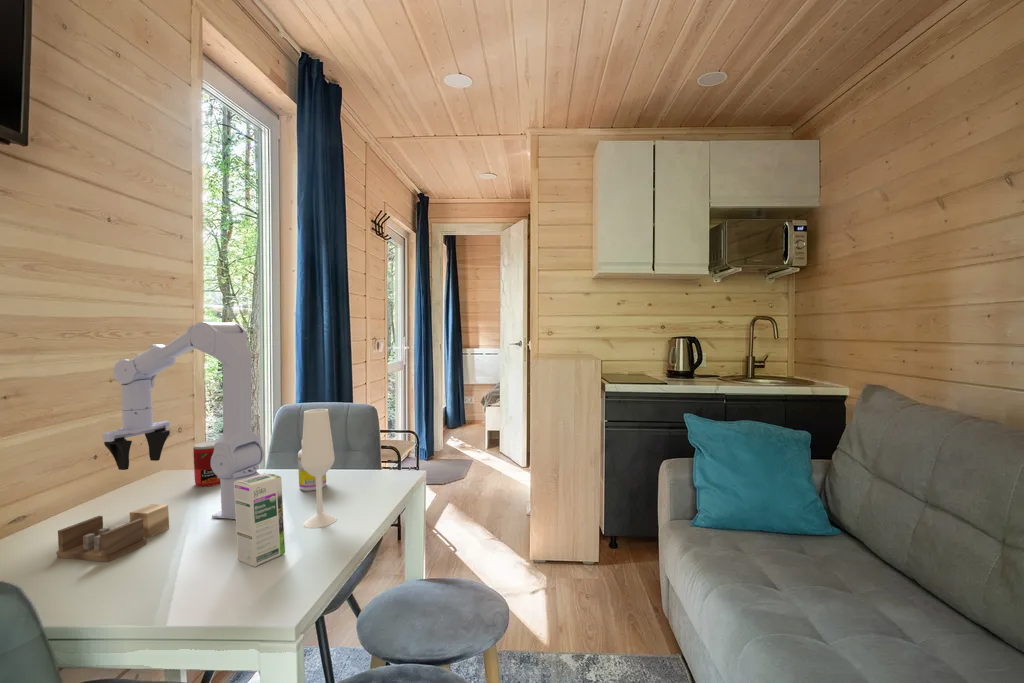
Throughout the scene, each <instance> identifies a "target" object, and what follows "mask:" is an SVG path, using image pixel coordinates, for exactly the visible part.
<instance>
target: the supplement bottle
mask: <svg viewBox="0 0 1024 683" xmlns="http://www.w3.org/2000/svg"><path fill="white" fill-rule="evenodd" d="M300 445H301V446H302V439H301V444H300ZM301 454H302V448H301V449H300V450H299V451H298V453H297V464H298V465H297V467H298V470H297V471H298V487H299V489H300V490H301V491H306V492H310V491H316V477H314V476H312V475H310V474H309V473H308V472H306V471H305V470H304V469H303V467H302V466H301ZM326 485H327V472H326V473H325V474H324V475H323V476H322V489H323V488H324V487H325V486H326Z"/></svg>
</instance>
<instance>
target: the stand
mask: <svg viewBox="0 0 1024 683" xmlns="http://www.w3.org/2000/svg"><path fill="white" fill-rule="evenodd" d="M103 520H104V518H103V515H98V516H94V517H92V518H89V519H87V520H84V521H81V522H78V523H74V524H73V525H70V526H67V527H64V528H61V529H59V530H57V539H58V540H57V543H58V551H56V557H57V558H64V559H74V560H83V561H95V562H106V563H109V562H111V561H114V560H115V559H117V558H120V557H122V556H124V555H126V554H128V553H130V552H133V551H134V550H137V549H139V548H141V547H143V546H146V545H147V539H146V538H145V537H144V531H143V519H137V520H134V521H132V522H130V521H129V522H127V523H124V524H122V525H120V526H117V527H114V528H112V529H110V527H104V521H103Z"/></svg>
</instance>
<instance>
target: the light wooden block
mask: <svg viewBox="0 0 1024 683" xmlns="http://www.w3.org/2000/svg"><path fill="white" fill-rule="evenodd" d="M169 515H170V514H169V504H154V503H150V504H148V505H144V506H143V507H140V508H137V509H135V510H132V511H130V512H129V522H132V521H134V520H137V519H143V531H144V538H150V536H151V537H152V535H153V536H155V535H157V534H160V533H162V532H163V530H164V531H166V530H168V529H170V519H169V517H170V516H169ZM167 528H168V529H167ZM165 529H166V530H165ZM161 531H162V532H161ZM159 532H160V533H159Z"/></svg>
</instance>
